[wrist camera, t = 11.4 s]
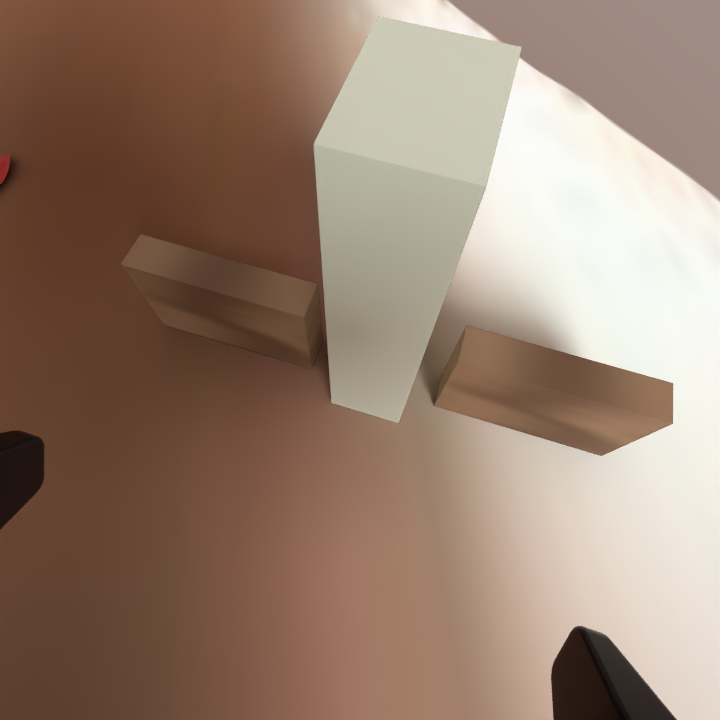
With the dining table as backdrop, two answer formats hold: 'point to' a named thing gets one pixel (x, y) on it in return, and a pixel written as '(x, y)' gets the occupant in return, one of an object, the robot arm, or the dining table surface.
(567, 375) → the walnut slotted plate
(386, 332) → the sage plank
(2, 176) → the plate with food
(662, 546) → the dining table surface
